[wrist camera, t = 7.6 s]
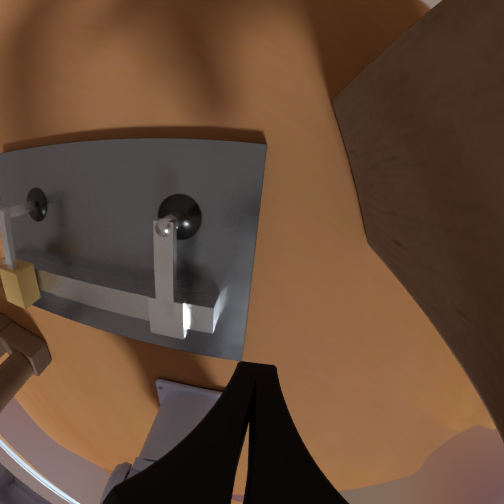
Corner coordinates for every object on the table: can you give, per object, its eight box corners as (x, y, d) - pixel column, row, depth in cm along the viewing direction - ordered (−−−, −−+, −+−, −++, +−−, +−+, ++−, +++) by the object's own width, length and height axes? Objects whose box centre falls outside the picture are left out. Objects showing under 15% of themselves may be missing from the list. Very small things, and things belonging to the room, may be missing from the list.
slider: (52, 288, 20) (25, 309, 16) (33, 282, 20) (7, 301, 17) (40, 200, 17) (6, 212, 14) (21, 199, 17) (-11, 211, 14)
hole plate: (242, 355, 22) (236, 385, 18) (21, 295, 23) (2, 309, 20) (267, 145, 16) (264, 142, 13) (4, 153, 17) (-21, 157, 14)
